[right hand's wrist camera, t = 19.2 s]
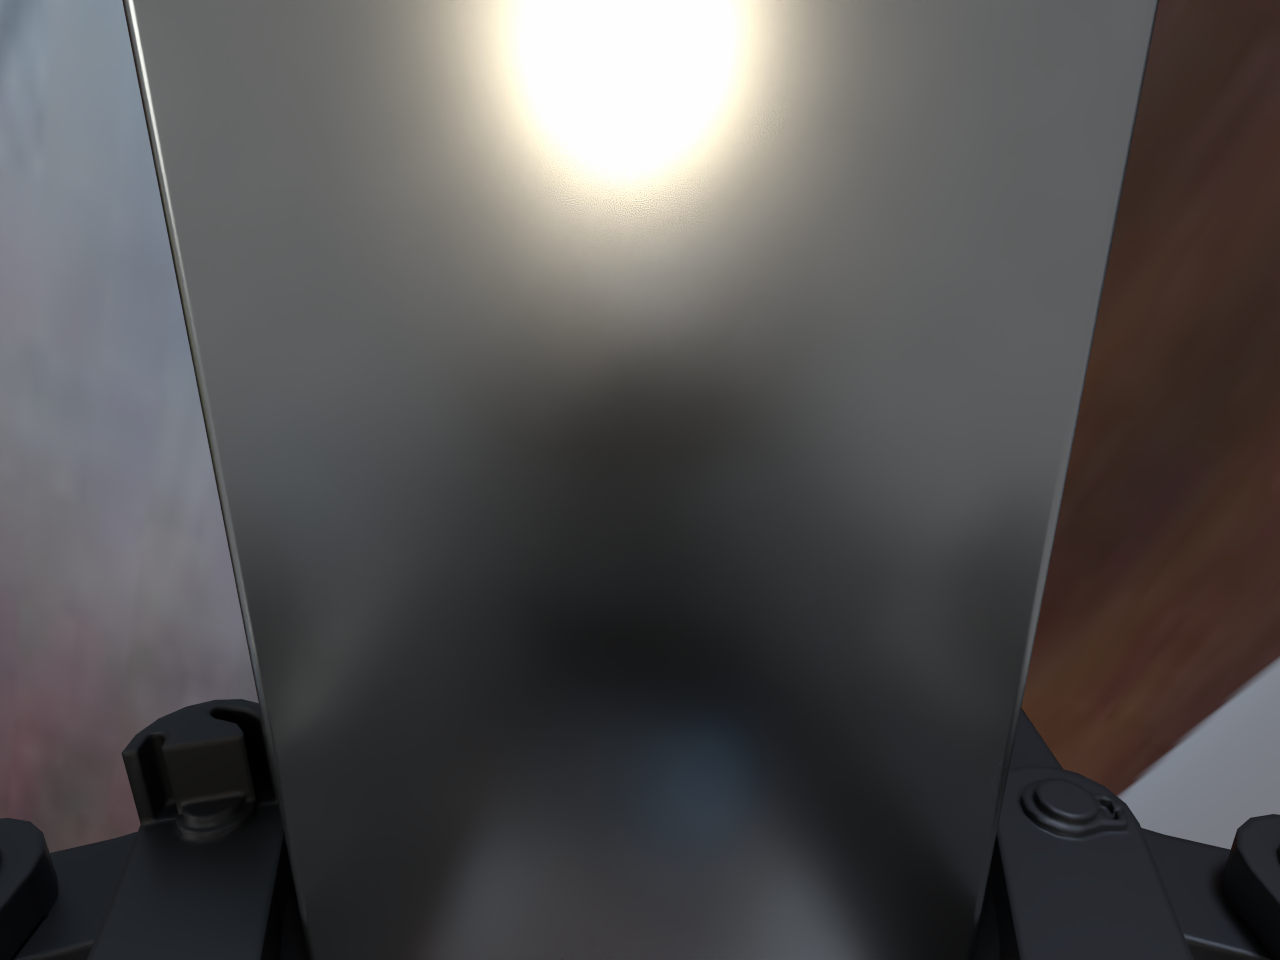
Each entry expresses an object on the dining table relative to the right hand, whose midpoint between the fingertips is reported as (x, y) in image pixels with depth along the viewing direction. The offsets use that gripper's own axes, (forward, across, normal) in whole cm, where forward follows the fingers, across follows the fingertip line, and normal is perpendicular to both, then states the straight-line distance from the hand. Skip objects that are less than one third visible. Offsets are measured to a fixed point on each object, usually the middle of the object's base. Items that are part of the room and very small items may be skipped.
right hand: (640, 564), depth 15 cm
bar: (+1, 0, -9) cm, 9 cm away
